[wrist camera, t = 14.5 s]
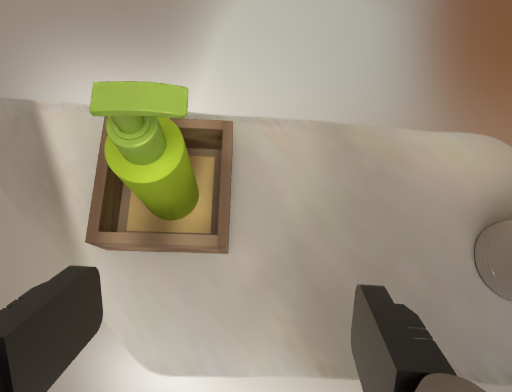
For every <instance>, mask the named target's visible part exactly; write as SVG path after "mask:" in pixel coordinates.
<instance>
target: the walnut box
mask: <svg viewBox="0 0 512 392" xmlns="http://www.w3.org/2000/svg"><path fill="white" fill-rule="evenodd" d="M107 118H108V116H105V118H104V124H103V131H102V137H101V143H100V150H99V156H98V163H97V169H96V176H95V182H94V188H93V195H92V201H91V208H90V214H89V221H88V227H87V233H86V240H85V242H86V243H89V244H92V245H94V246H97V247H100V248H103V249H106V250H118V251H156V252H193V253H228V243H229V219H230V194H231V169H232V144H233V121H218V120H198V119H178V118H169V119H171V120H172V121H173V122H174V123H175V124H176V125H177V126H178V128H179V129H180V131H181V133H182V136H183V139H184V142H185V146H186V149H187V152H188V156H189V159H190V162H191V166H192V169H193V172H194V176H195V179H196V182H197V186H198V189H199V199H198V202H197V205H196V207H195V208H194V209H193V211H192V212H191V213H190V214H188V215H187V216H185V217H184V218H181V219H178V220H164V219H161V218H159V217H157V216H155V215H154V214H153V213H152V212H151V211H150V210H149V209H148V208H147V207H146V206H145V205H144V204H143V203H142V201H141V200H140V199H139V198H138V197H137V196H136V195H135V194H134V193H133V192H132V191H131V190H130V189H129V188H128V187H127V186H126V185H125V183H124V182H123V181H122V180H121V179H120V178H119V177H118V176H117V175H116V174H115V173H114V172H113V171H112V170H111V168H110V167H109V165H108V163H107V161H106V157H105V142H106V138H107V136H108V134H107V131H106V121H107Z"/></svg>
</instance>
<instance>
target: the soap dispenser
mask: <svg viewBox="0 0 512 392" xmlns="http://www.w3.org/2000/svg"><path fill="white" fill-rule="evenodd" d="M187 108H188V88H186V87H181V86H177V85H170V84H163V83H154V82H138V81H137V82H136V81H122V82H121V81H119V82H118V81H117V82H93V88H92V96H91V103H90V113H91V114H92V115H93V116H108V118H107V121H106V131H107V134H108V136H107V138H106V142H105V157H106V161H107V163H108V165H109V167H110V168H111V170H112V171H113V172H114V173H115V174H116V175H117V176H118V177H119V178H120V179H121V180H122V181H123V182H124V183H125V185H126V186H127V187H128V188H129V189H130V190H131V191H132V192H133V193H134V194H135V195H136V196H137V197H138V198H139V199H140V200H141V201H142V203H143V204H144V205H145V206H146V207H147V208H148V209H149V210H150V211H151V212H152V213H153V214H154V215H155V216H157V217H159V218H161V219H164V220H178V219H181V218H184V217H185V216H187V215H188V214H190V213H191V212H192V211H193V209H194V208H195V207H196V205H197V202H198V199H199V189H198V186H197V182H196V179H195V176H194V172H193V169H192V166H191V162H190V159H189V156H188V152H187V149H186V146H185V142H184V139H183V136H182V133H181V131H180V129H179V128H178V126H177V125H176V124H175V123H174V122H173V121H172V120H171V119H169V118H168V117H170V118H178V119H181V118H184V117H185V116H187Z"/></svg>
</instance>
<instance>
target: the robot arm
mask: <svg viewBox="0 0 512 392" xmlns="http://www.w3.org/2000/svg"><path fill="white" fill-rule="evenodd" d="M475 261H476V265H477V269H478V271H479V273H480V275H481V277H482V279H483V280H484V282H485V283H486V284H487V285H488V286H489V287H490V289H491V290H492V291H494V292H495V293H496V294H498V295H499V296H501V297H503V298H505V299H507V300H510V301H512V219H510V220H506V221H502V222H498V223H495V224H493V225H490V226H488V227H487V228H486V229H485V230H483V232H482V233H481V234H480V236H479V237H478V240H477V242H476V246H475ZM102 317H103V307H102V296H101V285H100V274H99V271H98V269H97V268H96V267H88V266H69V267H67V268H66V269H64V270H63V271H61V272H60V273H59V274H57V275H56V276H55V277H53V278H52V279H50V280H49V281H47V282H45V283H43V284H40V285H38V286H36V287H34V288H32V289H30V290H29V291H27V292H26V293H25V294H23V295H22V296H20V297H19V298H18V300H14V301H13V302H12V303H10V304H9V305H7V307H6V308H3V309H2V310H0V392H47V390H48V389H49V388H50V387H51V386H52V385H53V384H54V382H55V381H56V380H57V379H58V378H59V376H60V375H61V374H62V373H63V371H65V369H66V368H67V367H68V366H69V365H70V363H71V362H72V361H73V360H74V359H75V358H76V356H77V355H78V354H79V353H80V351H82V349H83V348H84V347H85V346H86V345H87V343H88V342H89V341H90V340H91V339H92V338H93V336H94V335H95V334H96V333H97V331H98V330H99V328H100V325H101V322H102ZM351 347H352V353H353V357H354V360H355V364H356V367H357V371H358V375H359V378H360V382H361V385H362V389H363V392H486V391H484V390H483V389H482V388H480V387H479V386H477V385H476V384H474V383H472V382H470V381H468V380H466V379H464V378H461V377H458V376H457V375H456V373H455V372H454V370H453V369H452V367H451V366H450V364H449V363H448V361H447V359H446V358H445V356H444V355H443V353H442V352H441V350H440V349H439V347H438V346H437V344H436V343H435V341H433V338H432V336H431V335H430V333H429V332H428V330H426V327H425V326H424V324H423V323H422V321H421V320H420V318H419V317H418V315H417V314H415V313H414V312H413V311H411V310H410V309H409V308H407V307H406V306H405V305H404V304H394V302H393V300H392V299H391V297H390V295H389V293H388V292H387V290H386V288H385V287H384V286H375V285H360V284H358V285H357V287H356V291H355V300H354V309H353V318H352V327H351Z"/></svg>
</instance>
